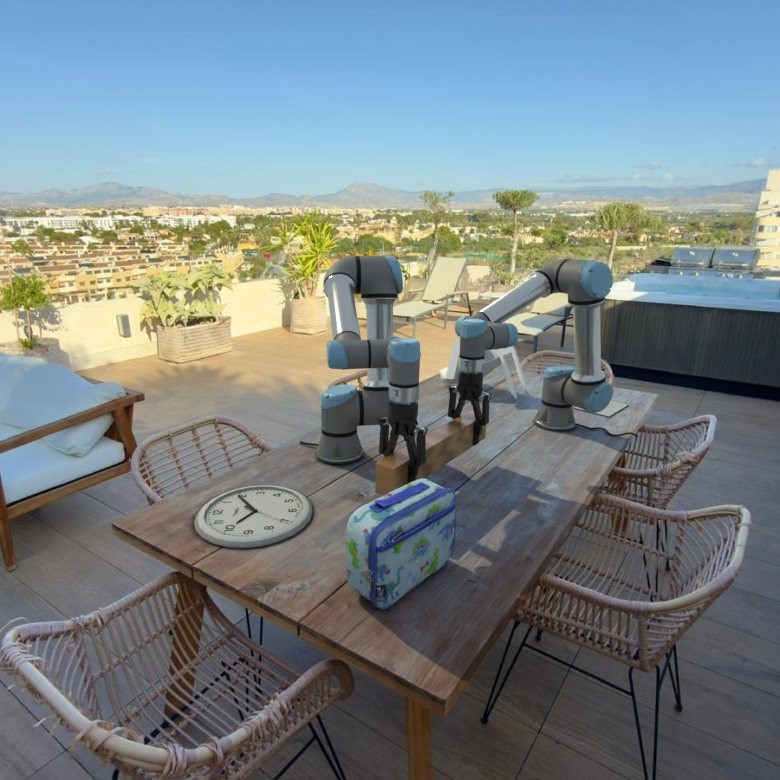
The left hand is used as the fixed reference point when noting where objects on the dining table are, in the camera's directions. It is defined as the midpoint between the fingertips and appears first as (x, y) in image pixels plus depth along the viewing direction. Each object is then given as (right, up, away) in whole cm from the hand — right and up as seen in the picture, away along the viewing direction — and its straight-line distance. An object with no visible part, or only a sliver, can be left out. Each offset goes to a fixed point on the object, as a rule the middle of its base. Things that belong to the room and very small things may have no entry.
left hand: (401, 483), depth 138 cm
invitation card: (+89, +17, +88) cm, 126 cm away
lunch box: (0, -17, -25) cm, 30 cm away
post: (+11, +4, +14) cm, 18 cm away
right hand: (+21, +8, +27) cm, 35 cm away
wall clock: (-38, -8, -1) cm, 39 cm away
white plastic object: (+39, +23, +105) cm, 114 cm away
